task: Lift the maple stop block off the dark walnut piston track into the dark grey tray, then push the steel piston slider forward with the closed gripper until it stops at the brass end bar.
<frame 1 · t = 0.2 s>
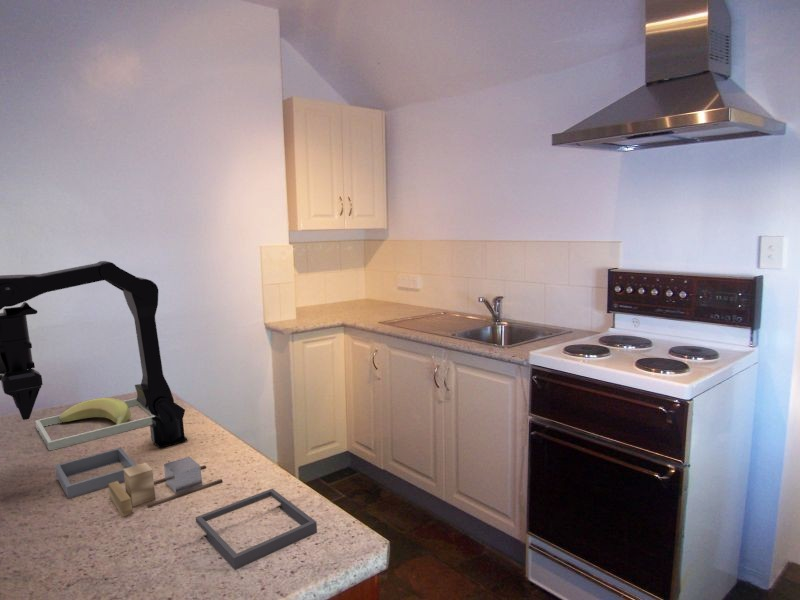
hand: (22, 413, 114), 15 cm above the countertop, tool pointing down, fingers open, 9 cm apart
piston: (183, 474, 109), point 3 cm above the countertop, slide at 0.0 cm
piston track: (160, 497, 107), on the countertop
fruit rim: (99, 424, 146), on the countertop
banana: (99, 424, 146), touching fruit rim
dark grey square frame: (256, 530, 95), on the countertop
stop block: (141, 499, 105), point 1 cm above the countertop, touching piston track
tray: (97, 481, 114), on the countertop
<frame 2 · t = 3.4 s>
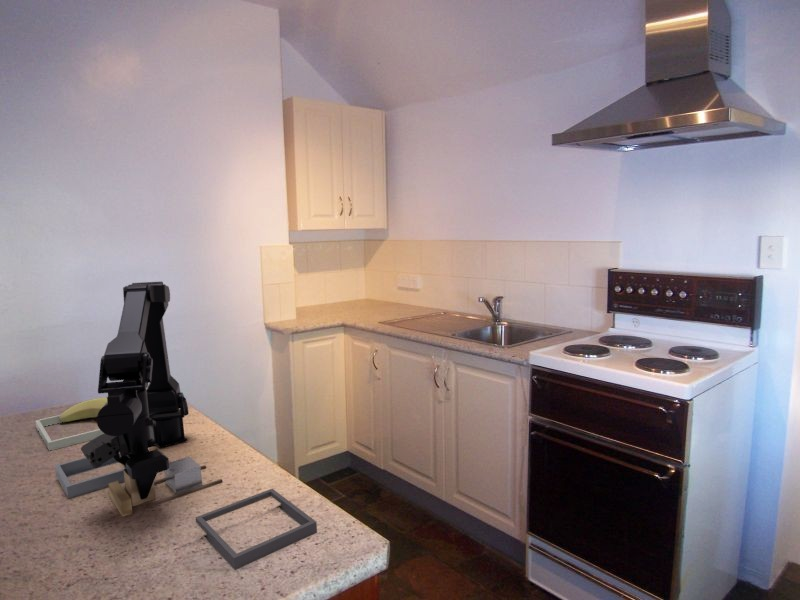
hand: (140, 494, 105), 2 cm above the countertop, tool pointing down, fingers closed on stop block, 4 cm apart
stop block: (141, 499, 105), point 1 cm above the countertop, touching gripper, piston track
everything else where it was.
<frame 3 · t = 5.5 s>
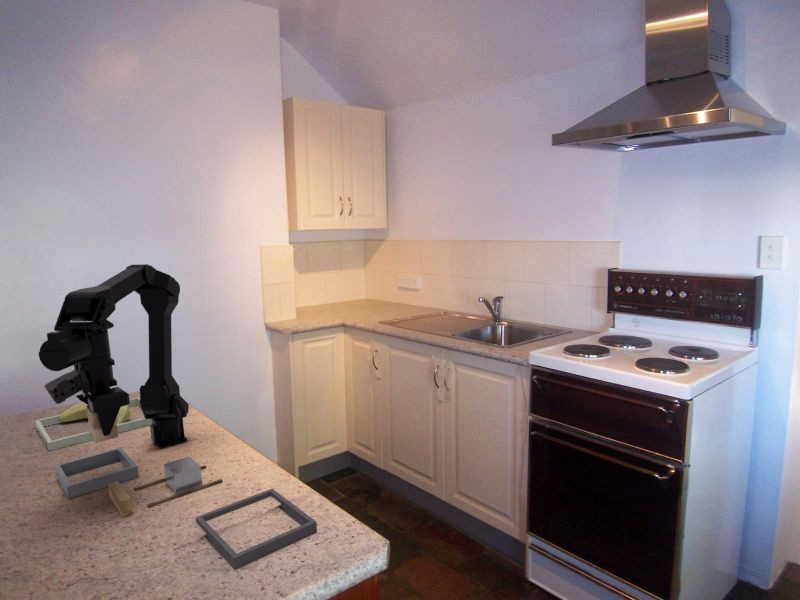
hand: (103, 432, 110), 12 cm above the countertop, tool pointing down, fingers closed on stop block, 4 cm apart
stop block: (104, 436, 110), point 11 cm above the countertop, touching gripper
everything else where it was.
when the fingers open (3 cm above the countertop, at t = 7.8 s): stop block drops 1 cm, resting on tray.
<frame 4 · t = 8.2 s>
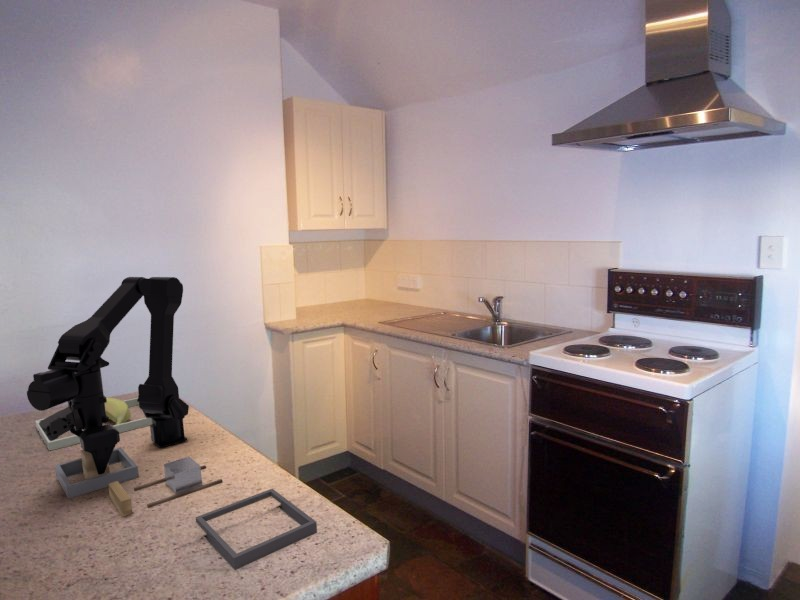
hand: (96, 466, 114), 3 cm above the countertop, tool pointing down, fingers open, 8 cm apart
stop block: (97, 478, 114), point 1 cm above the countertop, touching tray
everything else where it was.
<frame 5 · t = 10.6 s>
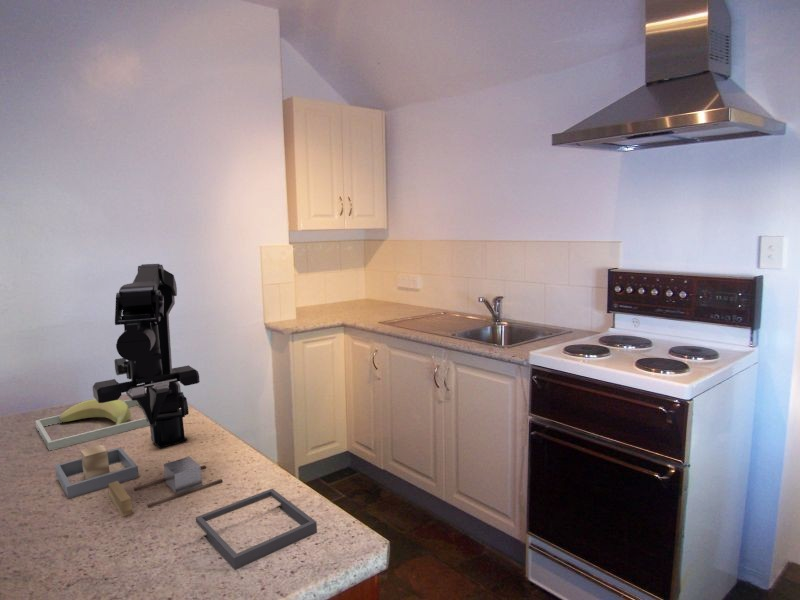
hand: (151, 424, 112), 12 cm above the countertop, tool pointing down, fingers closed
nothing on the countertop moved.
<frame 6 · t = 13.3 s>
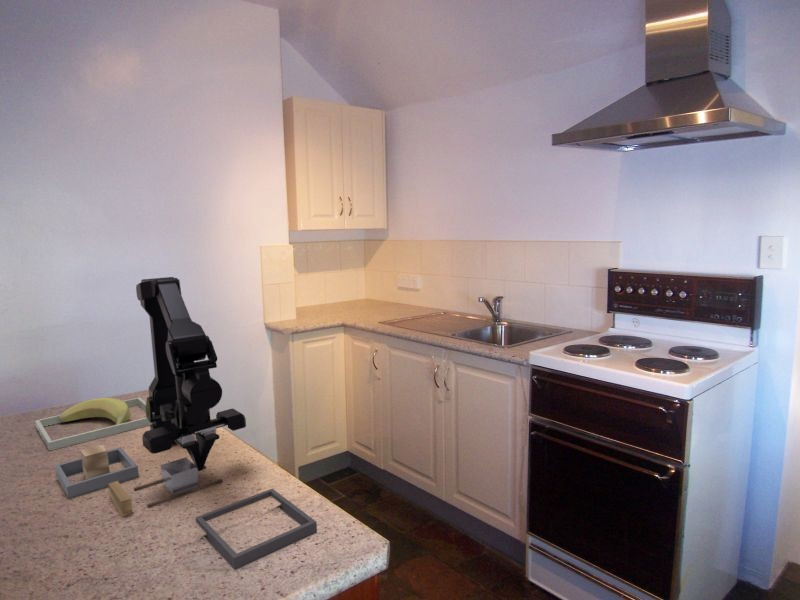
hand: (199, 470, 112), 3 cm above the countertop, tool pointing down, fingers closed
piston: (179, 475, 109), point 3 cm above the countertop, slide at 0.6 cm, touching gripper
everything else where it was.
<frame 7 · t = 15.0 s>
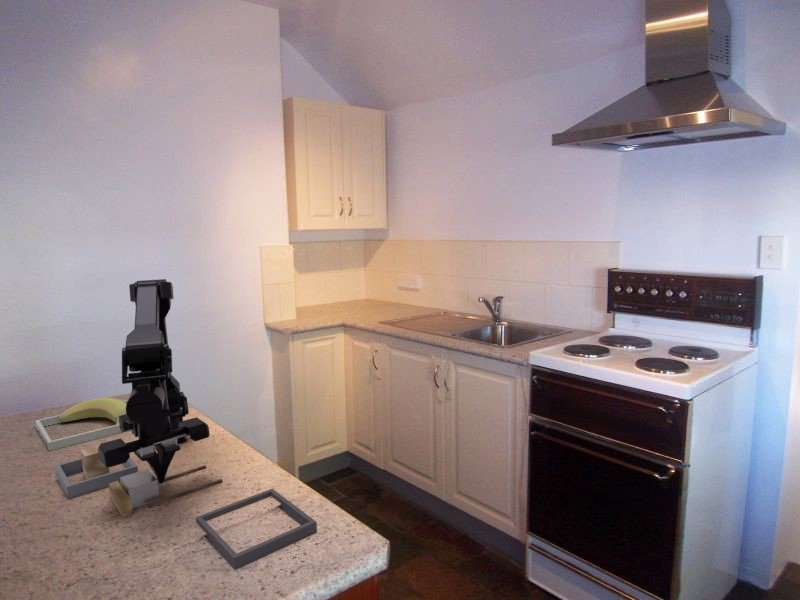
hand: (160, 482, 107), 3 cm above the countertop, tool pointing down, fingers closed
piston: (139, 488, 104), point 3 cm above the countertop, slide at 8.1 cm, touching gripper
everything else where it was.
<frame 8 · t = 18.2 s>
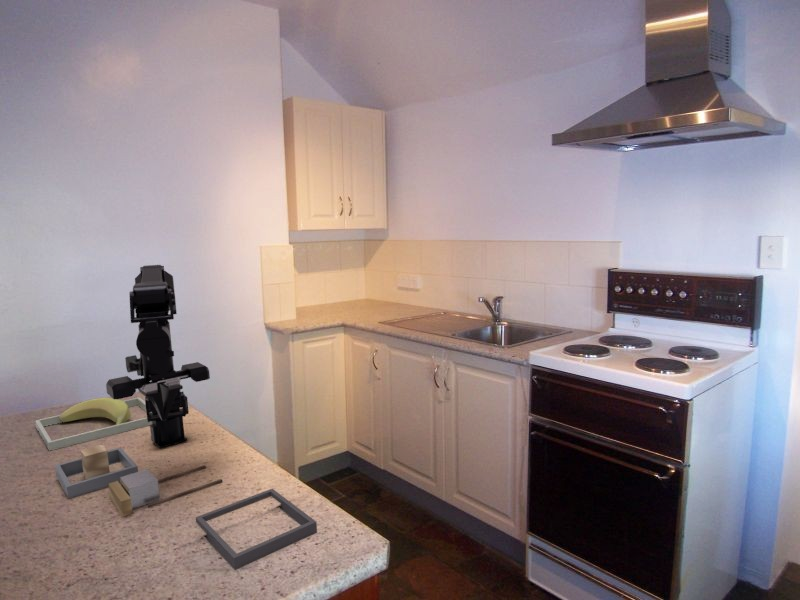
hand: (163, 419, 115), 12 cm above the countertop, tool pointing down, fingers closed
piston: (139, 488, 104), point 3 cm above the countertop, slide at 8.0 cm
everything else where it was.
at the end: stop block inside the target area on the tray (0.0 cm from its centre), point 0.8 cm above the tray's base; piston slide at 8.0 cm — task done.
